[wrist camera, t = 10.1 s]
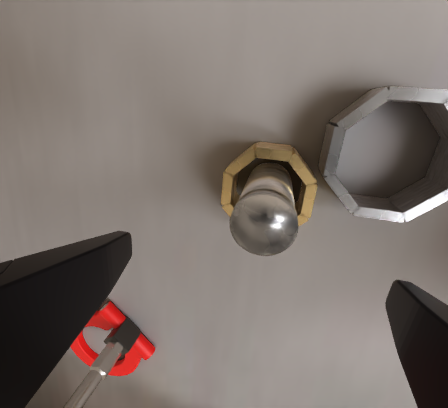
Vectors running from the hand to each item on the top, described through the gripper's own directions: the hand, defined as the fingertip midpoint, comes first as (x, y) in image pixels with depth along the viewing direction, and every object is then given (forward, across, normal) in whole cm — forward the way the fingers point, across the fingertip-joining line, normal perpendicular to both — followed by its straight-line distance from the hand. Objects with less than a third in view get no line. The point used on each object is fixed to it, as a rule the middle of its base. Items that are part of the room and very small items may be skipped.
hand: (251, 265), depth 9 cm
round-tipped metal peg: (+10, 0, 0) cm, 10 cm away
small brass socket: (+10, 0, 0) cm, 10 cm away
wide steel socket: (+10, -7, -3) cm, 13 cm away
